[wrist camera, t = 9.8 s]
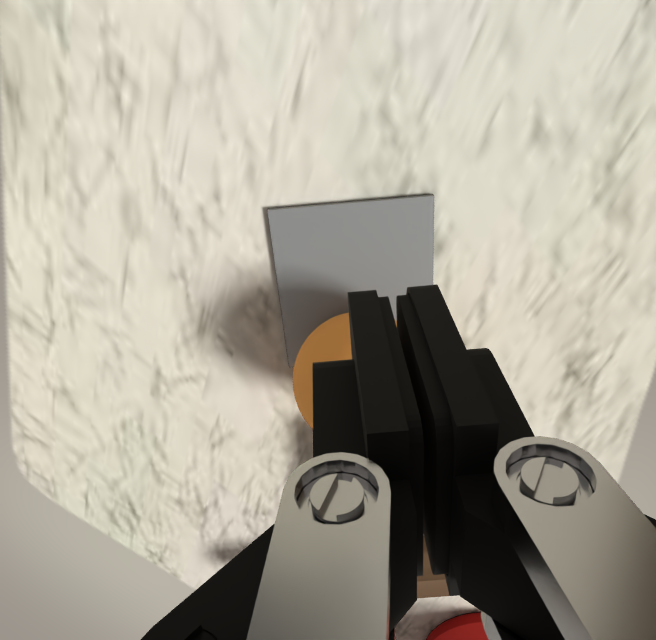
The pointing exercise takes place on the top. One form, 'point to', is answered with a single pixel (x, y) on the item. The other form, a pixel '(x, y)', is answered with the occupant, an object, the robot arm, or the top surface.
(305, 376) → the ball
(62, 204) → the top surface
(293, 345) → the grey flat plate
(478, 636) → the canned food
